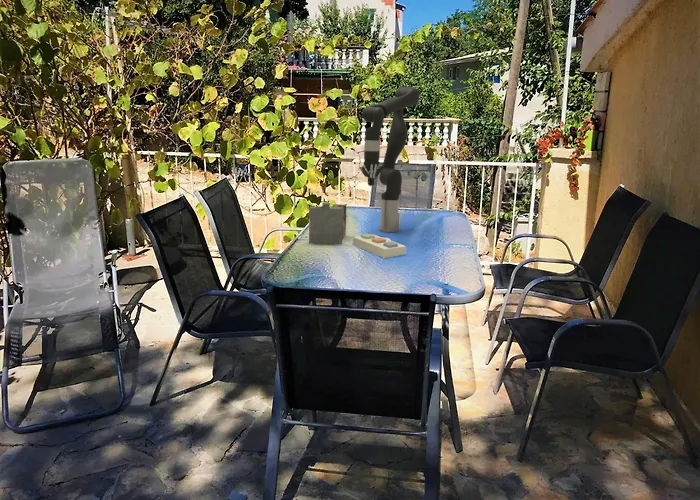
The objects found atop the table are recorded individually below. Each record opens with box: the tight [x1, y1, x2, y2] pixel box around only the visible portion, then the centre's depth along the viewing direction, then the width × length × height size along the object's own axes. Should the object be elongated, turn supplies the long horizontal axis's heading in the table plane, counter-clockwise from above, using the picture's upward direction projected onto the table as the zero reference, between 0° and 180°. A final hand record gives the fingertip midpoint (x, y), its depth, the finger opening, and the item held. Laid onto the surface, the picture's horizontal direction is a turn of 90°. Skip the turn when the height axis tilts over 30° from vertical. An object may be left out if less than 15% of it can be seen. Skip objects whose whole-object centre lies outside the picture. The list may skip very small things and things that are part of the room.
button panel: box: [352, 234, 407, 259], centre depth 249 cm, size 12×26×4 cm, turn 33°
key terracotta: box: [372, 237, 386, 243], centre depth 249 cm, size 5×5×3 cm
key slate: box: [383, 241, 398, 248], centre depth 242 cm, size 5×5×3 cm
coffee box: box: [331, 203, 347, 240], centre depth 269 cm, size 9×6×16 cm
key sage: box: [360, 233, 375, 239], centre depth 256 cm, size 5×5×3 cm
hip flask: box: [308, 201, 343, 245], centre depth 256 cm, size 16×4×20 cm, turn 92°
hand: (370, 185), depth 263 cm, fingers closed
